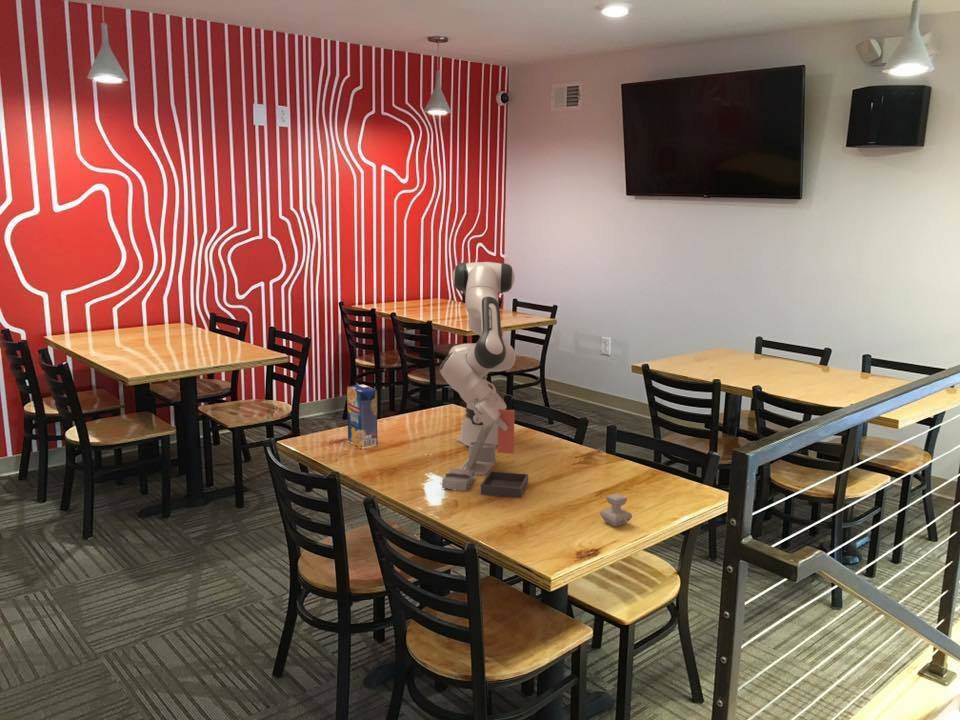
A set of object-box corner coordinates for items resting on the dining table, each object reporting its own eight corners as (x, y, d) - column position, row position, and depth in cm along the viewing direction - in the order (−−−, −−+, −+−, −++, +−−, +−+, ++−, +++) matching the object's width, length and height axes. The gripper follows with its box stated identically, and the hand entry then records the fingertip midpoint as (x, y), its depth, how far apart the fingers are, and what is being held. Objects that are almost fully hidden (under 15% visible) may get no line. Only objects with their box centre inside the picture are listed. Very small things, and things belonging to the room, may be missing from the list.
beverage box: (363, 439, 302) (363, 384, 298) (377, 446, 293) (377, 389, 289) (348, 442, 298) (347, 386, 294) (361, 449, 289) (360, 392, 285)
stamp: (634, 526, 223) (636, 499, 221) (617, 531, 219) (619, 503, 218) (613, 516, 230) (614, 489, 229) (596, 520, 227) (597, 493, 225)
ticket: (498, 451, 250) (499, 409, 247) (513, 452, 249) (514, 410, 246) (497, 452, 249) (498, 410, 246) (512, 453, 248) (513, 411, 245)
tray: (489, 479, 259) (489, 470, 259) (528, 483, 257) (528, 474, 256) (480, 494, 246) (480, 485, 245) (520, 498, 243) (521, 488, 243)
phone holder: (470, 457, 282) (470, 410, 278) (497, 460, 279) (498, 412, 276) (457, 473, 265) (457, 422, 262) (485, 476, 263) (486, 425, 259)
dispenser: (451, 476, 262) (451, 466, 261) (474, 478, 260) (475, 468, 259) (442, 488, 250) (442, 478, 249) (466, 491, 248) (466, 480, 248)
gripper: (478, 397, 236) (509, 430, 236) (492, 383, 256) (520, 413, 256) (464, 410, 238) (494, 443, 238) (478, 395, 258) (506, 425, 258)
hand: (508, 427), depth 247 cm, fingers closed on ticket, 1 cm apart
